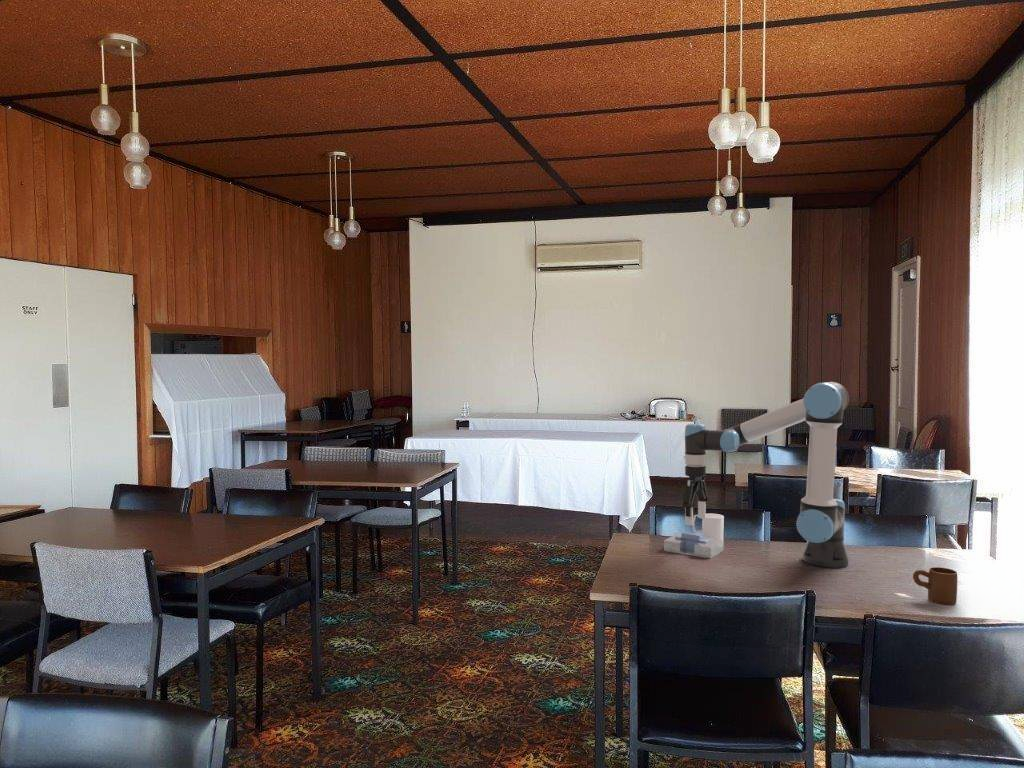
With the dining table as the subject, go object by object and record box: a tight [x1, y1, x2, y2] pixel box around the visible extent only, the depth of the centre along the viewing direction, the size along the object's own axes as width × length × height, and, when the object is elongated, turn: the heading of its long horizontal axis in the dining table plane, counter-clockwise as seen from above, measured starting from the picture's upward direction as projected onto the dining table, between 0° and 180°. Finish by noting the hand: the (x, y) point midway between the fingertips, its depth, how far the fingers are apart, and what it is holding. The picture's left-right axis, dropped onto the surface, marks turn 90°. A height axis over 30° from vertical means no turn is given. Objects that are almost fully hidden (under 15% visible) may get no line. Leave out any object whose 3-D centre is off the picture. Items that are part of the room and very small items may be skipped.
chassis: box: [663, 532, 725, 560], centre depth 282 cm, size 18×14×4 cm
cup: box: [692, 513, 725, 540], centre depth 297 cm, size 8×12×10 cm
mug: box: [912, 566, 958, 606], centre depth 227 cm, size 12×8×9 cm, turn 76°
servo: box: [675, 530, 709, 551], centre depth 282 cm, size 12×4×6 cm, turn 56°
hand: (695, 521), depth 281 cm, fingers open, 13 cm apart
